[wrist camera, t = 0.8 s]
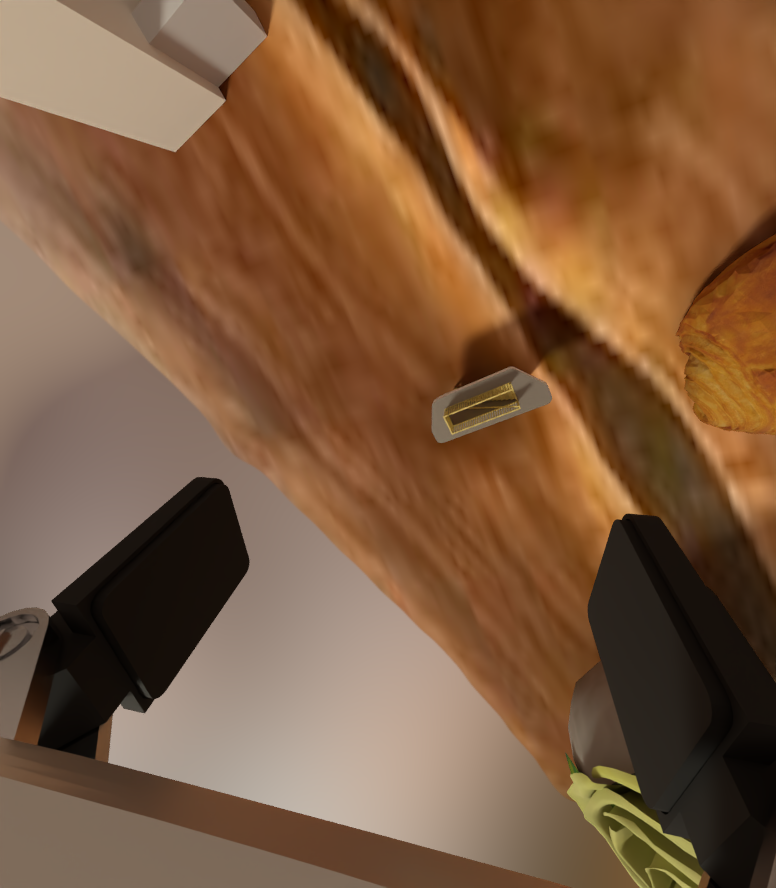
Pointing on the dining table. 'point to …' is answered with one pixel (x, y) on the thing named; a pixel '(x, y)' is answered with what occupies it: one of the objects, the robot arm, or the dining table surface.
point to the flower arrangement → (620, 792)
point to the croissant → (735, 345)
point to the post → (125, 61)
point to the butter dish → (487, 403)
